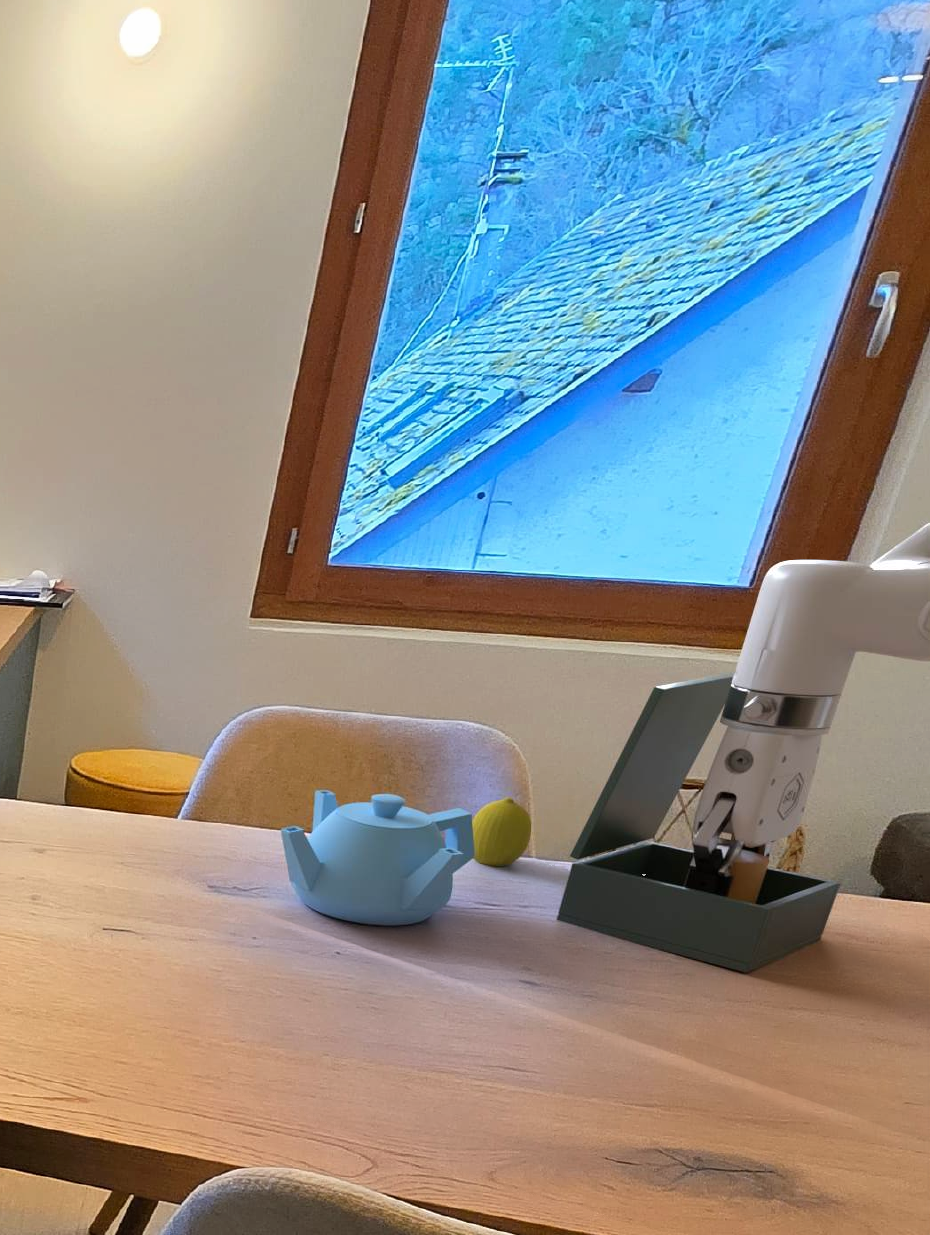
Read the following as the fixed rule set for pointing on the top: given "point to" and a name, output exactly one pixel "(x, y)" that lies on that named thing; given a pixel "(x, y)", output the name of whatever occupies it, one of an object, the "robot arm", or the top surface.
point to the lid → (653, 764)
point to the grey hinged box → (694, 908)
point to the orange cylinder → (746, 875)
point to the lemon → (501, 832)
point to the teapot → (377, 859)
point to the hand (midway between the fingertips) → (715, 907)
